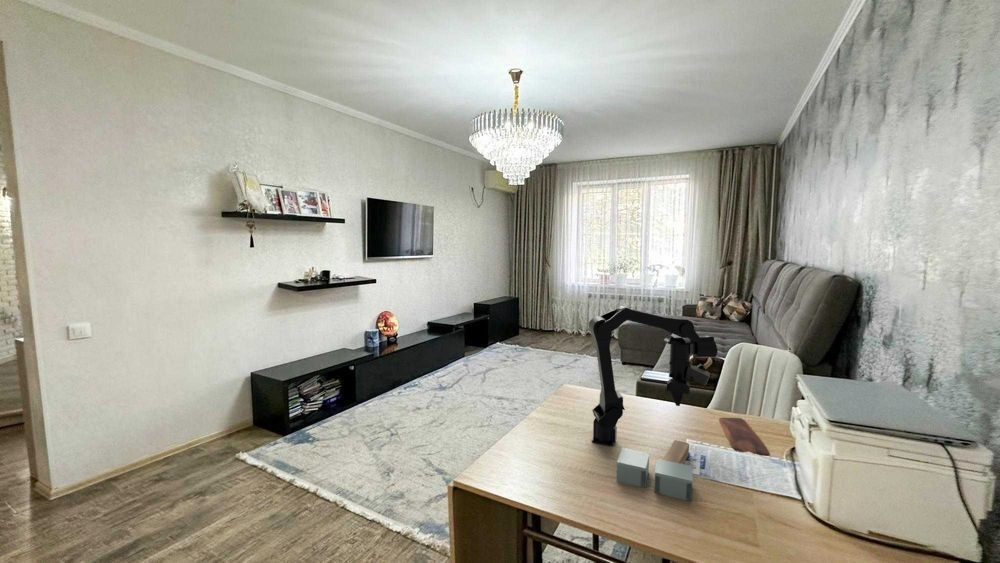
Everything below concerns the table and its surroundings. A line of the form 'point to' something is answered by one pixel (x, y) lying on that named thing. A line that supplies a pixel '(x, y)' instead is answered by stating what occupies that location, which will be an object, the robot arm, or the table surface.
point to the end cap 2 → (673, 480)
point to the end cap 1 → (633, 467)
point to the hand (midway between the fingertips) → (677, 405)
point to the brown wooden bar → (677, 452)
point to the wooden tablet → (742, 436)
